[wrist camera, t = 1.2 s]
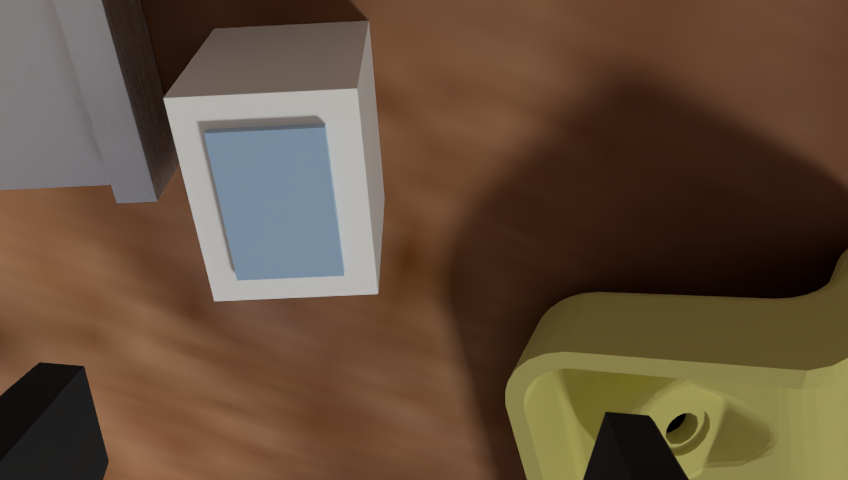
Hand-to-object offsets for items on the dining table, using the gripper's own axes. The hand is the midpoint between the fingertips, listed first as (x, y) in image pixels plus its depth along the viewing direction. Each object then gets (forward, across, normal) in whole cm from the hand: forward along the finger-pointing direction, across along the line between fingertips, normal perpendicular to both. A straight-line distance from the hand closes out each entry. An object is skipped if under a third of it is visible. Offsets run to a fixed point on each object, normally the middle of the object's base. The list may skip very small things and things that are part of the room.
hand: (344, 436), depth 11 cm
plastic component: (+11, -12, +13) cm, 21 cm away
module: (+11, +2, +1) cm, 11 cm away
